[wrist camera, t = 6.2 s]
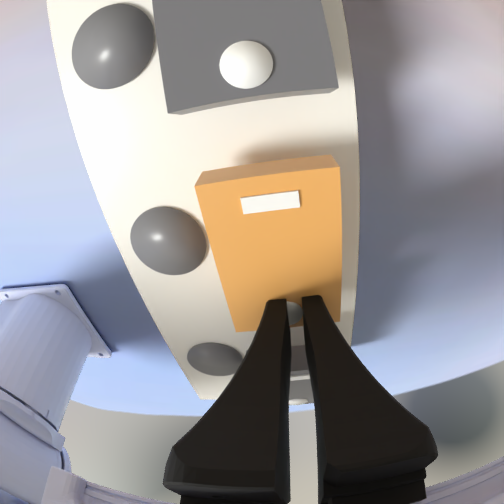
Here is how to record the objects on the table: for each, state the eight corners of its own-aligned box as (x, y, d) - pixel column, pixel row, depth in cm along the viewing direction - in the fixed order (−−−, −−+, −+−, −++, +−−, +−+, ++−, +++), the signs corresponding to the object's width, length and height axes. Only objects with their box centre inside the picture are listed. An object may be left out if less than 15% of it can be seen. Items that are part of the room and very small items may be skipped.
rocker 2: (335, 300, 12) (340, 322, 11) (238, 310, 13) (236, 333, 12) (330, 154, 9) (340, 167, 8) (202, 171, 9) (193, 187, 8)
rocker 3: (329, 382, 17) (331, 401, 16) (263, 388, 17) (264, 408, 17) (335, 341, 13) (339, 367, 12) (246, 350, 13) (245, 376, 12)
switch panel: (334, 382, 24) (340, 422, 21) (221, 391, 25) (217, 430, 22) (301, -73, 7) (313, -113, 3) (86, -19, 8) (36, -31, 5)
